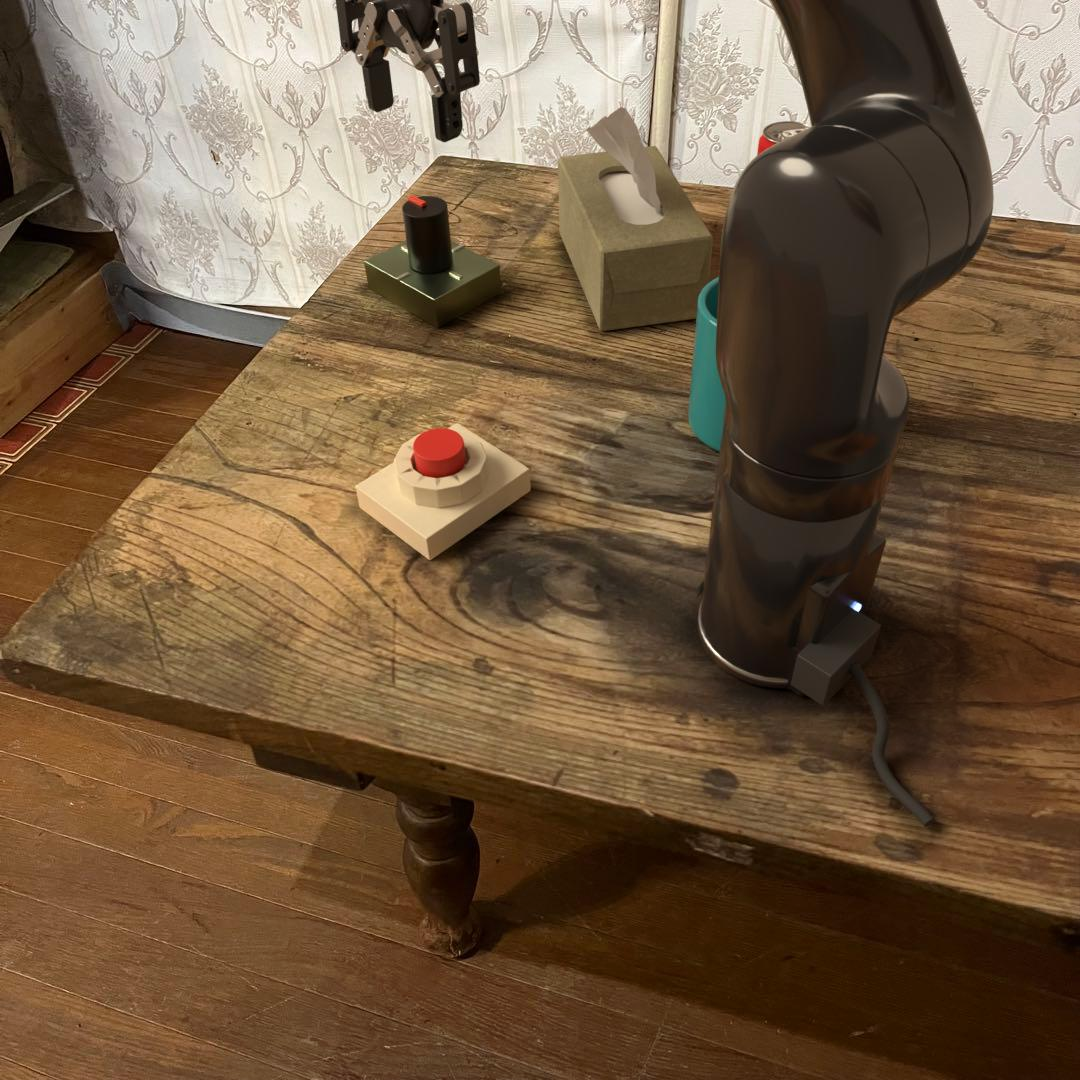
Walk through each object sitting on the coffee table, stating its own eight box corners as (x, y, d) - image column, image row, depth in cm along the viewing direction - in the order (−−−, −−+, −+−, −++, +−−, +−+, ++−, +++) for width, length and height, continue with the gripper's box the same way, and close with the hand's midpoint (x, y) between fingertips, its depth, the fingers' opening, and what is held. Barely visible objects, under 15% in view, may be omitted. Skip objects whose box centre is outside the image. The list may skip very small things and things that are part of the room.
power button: (476, 461, 74) (474, 442, 73) (438, 486, 73) (435, 467, 71) (443, 439, 76) (440, 421, 75) (405, 463, 74) (402, 444, 73)
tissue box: (558, 232, 105) (555, 71, 93) (652, 220, 106) (659, 60, 95) (601, 334, 91) (603, 162, 80) (707, 320, 93) (724, 148, 81)
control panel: (502, 292, 97) (500, 262, 95) (436, 329, 93) (433, 298, 91) (432, 256, 102) (429, 226, 100) (367, 289, 98) (362, 259, 96)
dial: (461, 261, 95) (456, 202, 91) (428, 278, 93) (421, 218, 89) (433, 246, 97) (426, 188, 93) (400, 262, 95) (392, 204, 91)
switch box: (531, 490, 77) (529, 449, 74) (429, 561, 72) (423, 520, 70) (459, 444, 81) (455, 403, 79) (359, 507, 77) (350, 466, 74)
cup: (702, 491, 77) (715, 366, 69) (679, 393, 85) (689, 271, 77) (823, 484, 77) (851, 359, 69) (788, 387, 85) (809, 265, 77)
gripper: (288, -106, 76) (326, 113, 87) (414, -69, 69) (437, 165, 80) (368, -127, 80) (394, 86, 91) (496, -94, 72) (506, 133, 84)
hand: (414, 123), depth 86 cm, fingers open, 8 cm apart
